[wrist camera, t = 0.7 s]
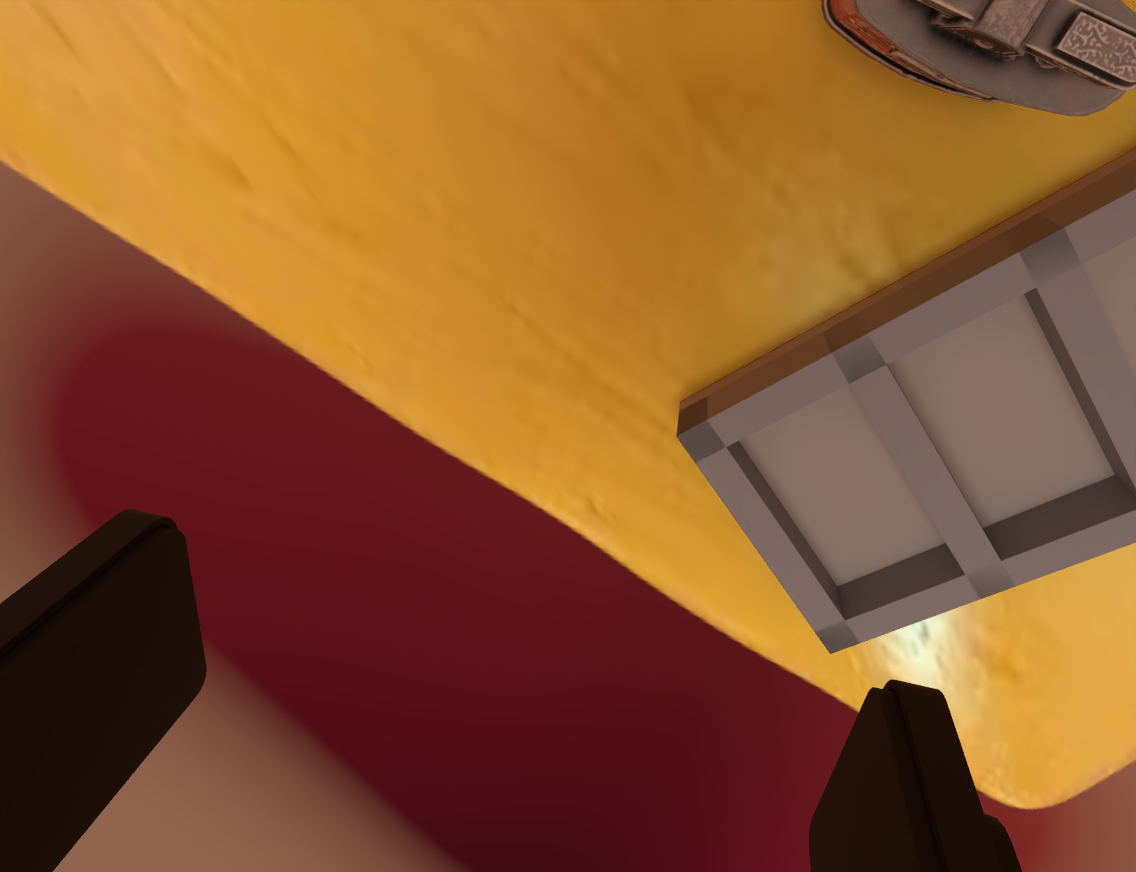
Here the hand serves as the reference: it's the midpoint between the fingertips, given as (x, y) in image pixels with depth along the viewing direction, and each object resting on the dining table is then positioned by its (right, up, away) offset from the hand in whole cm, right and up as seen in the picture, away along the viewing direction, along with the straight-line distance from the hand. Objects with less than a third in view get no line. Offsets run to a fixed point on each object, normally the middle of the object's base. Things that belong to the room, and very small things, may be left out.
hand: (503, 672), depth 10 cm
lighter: (+14, +18, +16) cm, 28 cm away
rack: (+19, +5, +22) cm, 29 cm away
